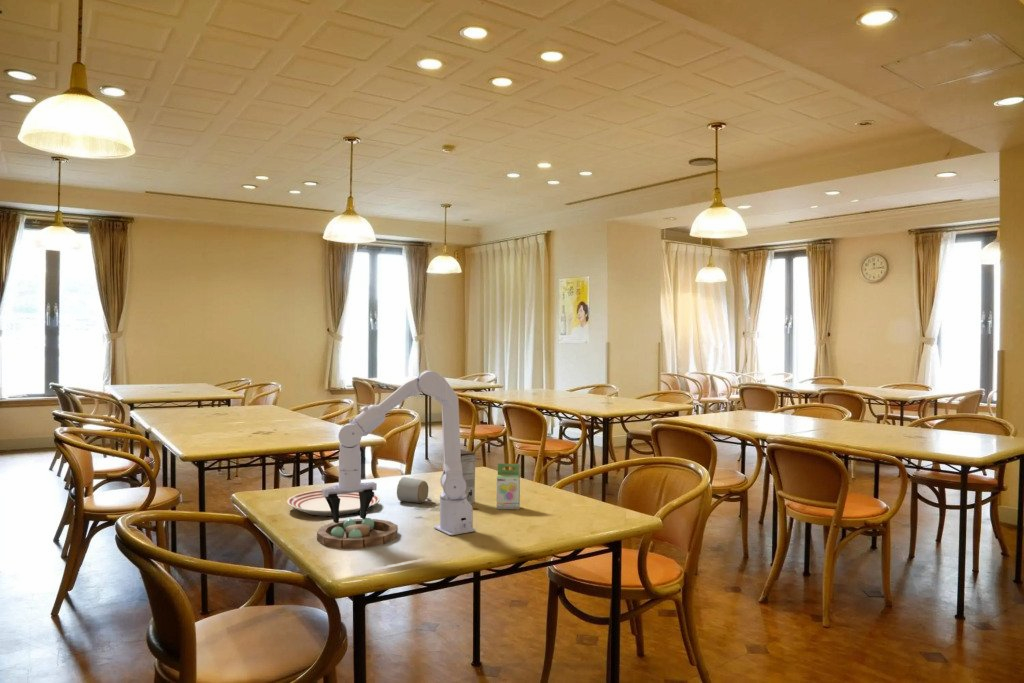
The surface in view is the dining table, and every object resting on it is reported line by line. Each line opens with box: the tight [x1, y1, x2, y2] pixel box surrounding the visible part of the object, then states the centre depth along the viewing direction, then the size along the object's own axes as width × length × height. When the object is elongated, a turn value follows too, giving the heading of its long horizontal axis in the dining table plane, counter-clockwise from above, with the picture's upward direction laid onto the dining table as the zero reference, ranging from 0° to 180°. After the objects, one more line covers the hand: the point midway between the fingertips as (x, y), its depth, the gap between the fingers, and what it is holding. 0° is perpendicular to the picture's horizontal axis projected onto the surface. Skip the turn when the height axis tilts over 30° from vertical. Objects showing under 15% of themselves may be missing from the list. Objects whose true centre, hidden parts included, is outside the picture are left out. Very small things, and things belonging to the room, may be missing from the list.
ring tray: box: [316, 518, 399, 549], centre depth 183 cm, size 20×20×3 cm
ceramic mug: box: [396, 476, 429, 504], centre depth 226 cm, size 11×8×8 cm
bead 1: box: [343, 518, 356, 531], centre depth 188 cm, size 3×3×3 cm
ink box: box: [496, 463, 521, 511], centre depth 217 cm, size 7×4×13 cm, turn 87°
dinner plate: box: [286, 489, 381, 517], centre depth 216 cm, size 28×27×3 cm
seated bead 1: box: [331, 527, 345, 537], centre depth 180 cm, size 3×3×3 cm
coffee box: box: [460, 448, 476, 504], centre depth 225 cm, size 9×6×16 cm
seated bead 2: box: [348, 529, 362, 538], centre depth 178 cm, size 3×3×3 cm
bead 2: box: [361, 517, 374, 530], centre depth 189 cm, size 3×3×3 cm
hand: (349, 520), depth 188 cm, fingers open, 7 cm apart
